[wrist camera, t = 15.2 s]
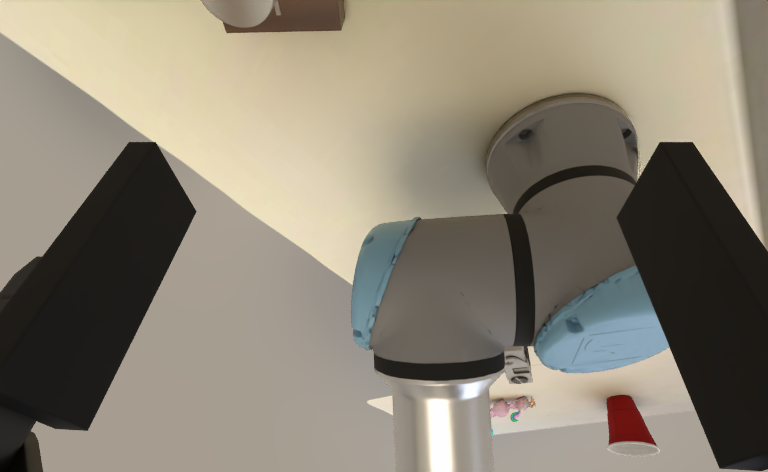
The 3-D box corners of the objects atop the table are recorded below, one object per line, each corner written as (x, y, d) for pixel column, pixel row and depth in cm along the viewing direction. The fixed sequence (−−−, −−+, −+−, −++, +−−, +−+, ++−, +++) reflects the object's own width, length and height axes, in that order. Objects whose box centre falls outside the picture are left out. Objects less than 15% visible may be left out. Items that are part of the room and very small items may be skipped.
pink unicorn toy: (528, 388, 103) (473, 403, 108) (536, 412, 99) (478, 426, 103) (533, 396, 107) (480, 410, 112) (541, 419, 103) (485, 433, 108)
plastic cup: (605, 390, 97) (621, 444, 90) (651, 393, 97) (670, 448, 89) (587, 404, 106) (600, 455, 98) (629, 407, 105) (645, 458, 98)
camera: (467, 303, 71) (471, 357, 64) (515, 296, 68) (525, 352, 62) (483, 337, 81) (488, 388, 74) (526, 333, 78) (535, 385, 72)
